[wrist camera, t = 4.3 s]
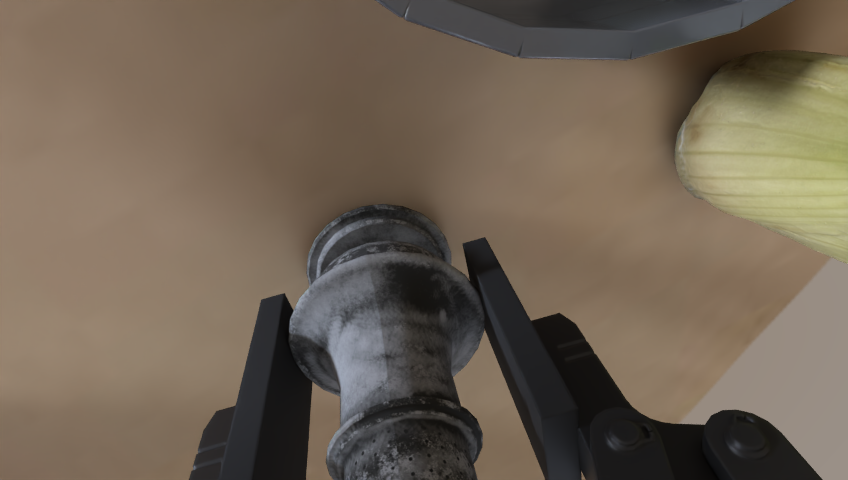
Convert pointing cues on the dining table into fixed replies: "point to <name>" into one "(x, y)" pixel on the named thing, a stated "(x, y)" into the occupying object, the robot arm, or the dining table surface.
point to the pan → (583, 24)
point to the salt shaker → (390, 346)
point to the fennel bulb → (774, 145)
